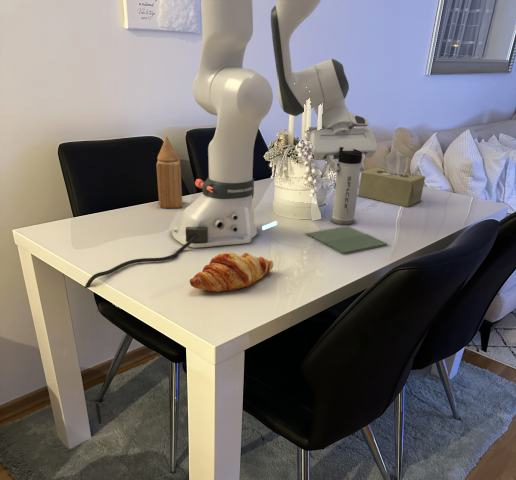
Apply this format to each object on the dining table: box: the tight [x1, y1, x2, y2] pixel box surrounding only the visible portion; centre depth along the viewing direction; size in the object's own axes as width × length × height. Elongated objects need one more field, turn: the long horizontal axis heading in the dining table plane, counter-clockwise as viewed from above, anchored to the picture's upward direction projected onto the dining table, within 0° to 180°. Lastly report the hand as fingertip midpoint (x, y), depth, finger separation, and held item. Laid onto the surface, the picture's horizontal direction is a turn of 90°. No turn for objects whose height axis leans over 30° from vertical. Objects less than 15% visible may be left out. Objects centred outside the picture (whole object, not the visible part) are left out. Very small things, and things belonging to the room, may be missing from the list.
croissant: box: [189, 252, 274, 293], centre depth 106 cm, size 21×10×8 cm, turn 129°
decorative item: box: [156, 136, 183, 209], centre depth 149 cm, size 7×7×20 cm
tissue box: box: [357, 148, 426, 208], centre depth 165 cm, size 19×10×16 cm, turn 51°
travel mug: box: [331, 147, 362, 226], centre depth 141 cm, size 6×7×20 cm
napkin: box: [306, 226, 388, 255], centre depth 133 cm, size 14×16×1 cm
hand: (349, 170), depth 138 cm, fingers closed on travel mug, 6 cm apart
